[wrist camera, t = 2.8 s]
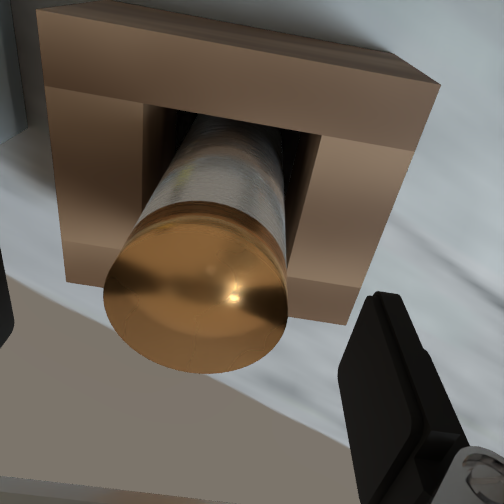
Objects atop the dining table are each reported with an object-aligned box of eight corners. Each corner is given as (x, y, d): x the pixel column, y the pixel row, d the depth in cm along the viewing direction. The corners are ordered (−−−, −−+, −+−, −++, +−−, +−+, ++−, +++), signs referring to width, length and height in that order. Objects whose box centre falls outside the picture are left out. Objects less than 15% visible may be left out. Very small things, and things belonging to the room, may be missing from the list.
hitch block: (107, -1, 17) (35, 9, 12) (394, 53, 17) (441, 84, 12) (113, 213, 22) (66, 282, 17) (330, 249, 23) (345, 325, 18)
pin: (194, 87, 19) (98, 217, 9) (290, 105, 19) (307, 251, 9) (187, 177, 21) (106, 360, 11) (272, 192, 21) (269, 384, 11)
